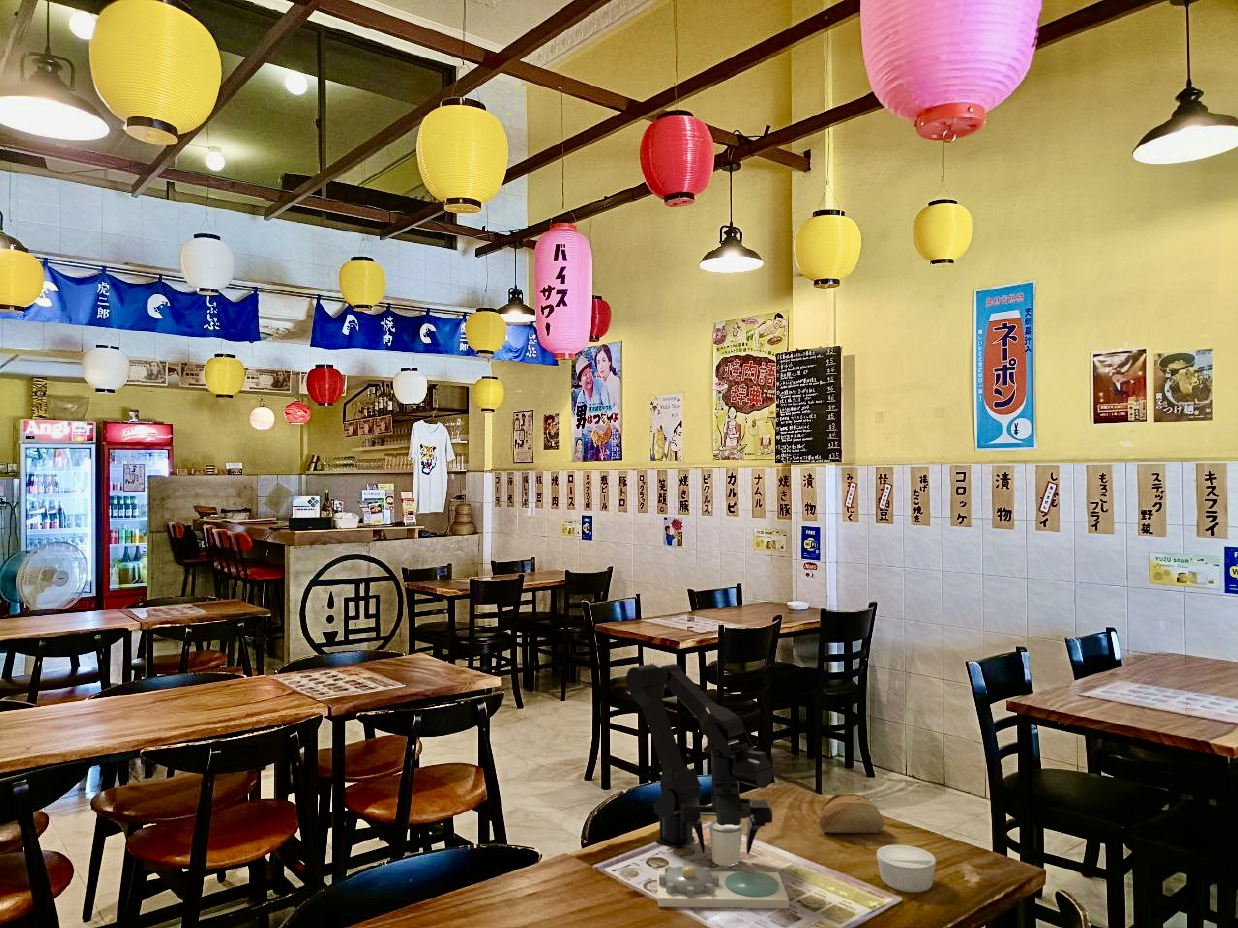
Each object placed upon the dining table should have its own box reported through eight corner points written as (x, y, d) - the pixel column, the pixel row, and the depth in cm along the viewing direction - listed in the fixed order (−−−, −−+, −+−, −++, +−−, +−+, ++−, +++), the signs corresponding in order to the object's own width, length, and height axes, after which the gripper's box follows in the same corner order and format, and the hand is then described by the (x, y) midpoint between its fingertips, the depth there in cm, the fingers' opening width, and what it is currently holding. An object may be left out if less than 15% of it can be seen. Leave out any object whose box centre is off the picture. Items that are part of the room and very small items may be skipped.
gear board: (658, 906, 153) (658, 881, 153) (656, 878, 165) (656, 854, 165) (789, 908, 153) (788, 882, 153) (778, 879, 165) (777, 856, 165)
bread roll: (811, 825, 194) (811, 790, 194) (872, 822, 196) (871, 787, 197) (828, 841, 184) (827, 804, 185) (891, 837, 187) (890, 801, 187)
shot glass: (741, 868, 170) (741, 833, 170) (707, 865, 171) (707, 830, 172) (743, 855, 176) (743, 821, 177) (710, 852, 178) (710, 819, 178)
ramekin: (907, 900, 156) (907, 871, 156) (864, 877, 166) (864, 850, 166) (949, 888, 161) (949, 860, 162) (905, 866, 171) (904, 840, 172)
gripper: (682, 788, 167) (683, 868, 166) (776, 789, 167) (776, 869, 166) (680, 771, 178) (680, 846, 177) (767, 772, 178) (768, 847, 177)
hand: (725, 852), depth 174 cm, fingers open, 9 cm apart
